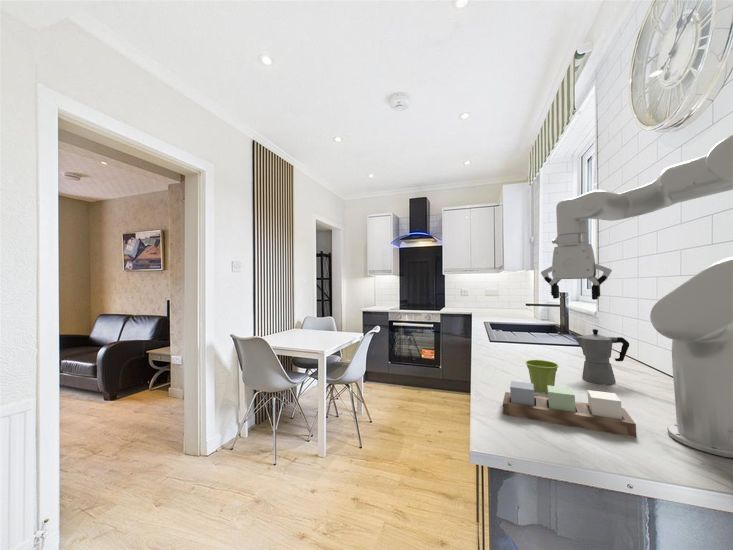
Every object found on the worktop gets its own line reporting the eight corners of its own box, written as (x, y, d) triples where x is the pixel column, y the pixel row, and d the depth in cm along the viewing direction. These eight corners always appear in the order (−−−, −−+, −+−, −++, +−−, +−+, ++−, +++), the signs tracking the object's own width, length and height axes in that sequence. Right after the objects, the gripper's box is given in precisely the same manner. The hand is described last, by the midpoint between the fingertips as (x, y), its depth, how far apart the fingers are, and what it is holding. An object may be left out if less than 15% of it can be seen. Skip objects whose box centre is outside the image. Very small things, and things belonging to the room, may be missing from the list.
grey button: (534, 401, 80) (533, 383, 80) (534, 409, 75) (533, 389, 76) (512, 398, 83) (511, 381, 83) (511, 405, 78) (510, 386, 78)
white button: (616, 413, 71) (615, 393, 72) (622, 423, 67) (621, 401, 67) (588, 409, 74) (587, 390, 74) (592, 418, 69) (591, 397, 70)
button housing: (624, 420, 72) (624, 408, 72) (636, 437, 64) (635, 424, 64) (505, 402, 85) (505, 391, 85) (503, 414, 77) (502, 403, 77)
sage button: (573, 407, 76) (571, 388, 76) (575, 415, 71) (574, 395, 71) (548, 403, 78) (547, 385, 79) (549, 411, 74) (548, 391, 74)
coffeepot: (575, 381, 102) (572, 330, 102) (575, 374, 109) (572, 326, 110) (634, 389, 93) (630, 332, 94) (629, 380, 101) (625, 328, 101)
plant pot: (559, 387, 96) (557, 361, 96) (561, 397, 88) (559, 368, 88) (527, 383, 101) (525, 358, 101) (526, 392, 93) (524, 365, 93)
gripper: (535, 243, 90) (537, 298, 90) (606, 236, 77) (609, 300, 76) (545, 245, 95) (546, 297, 94) (613, 238, 81) (615, 299, 81)
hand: (574, 298), depth 85 cm, fingers open, 9 cm apart
